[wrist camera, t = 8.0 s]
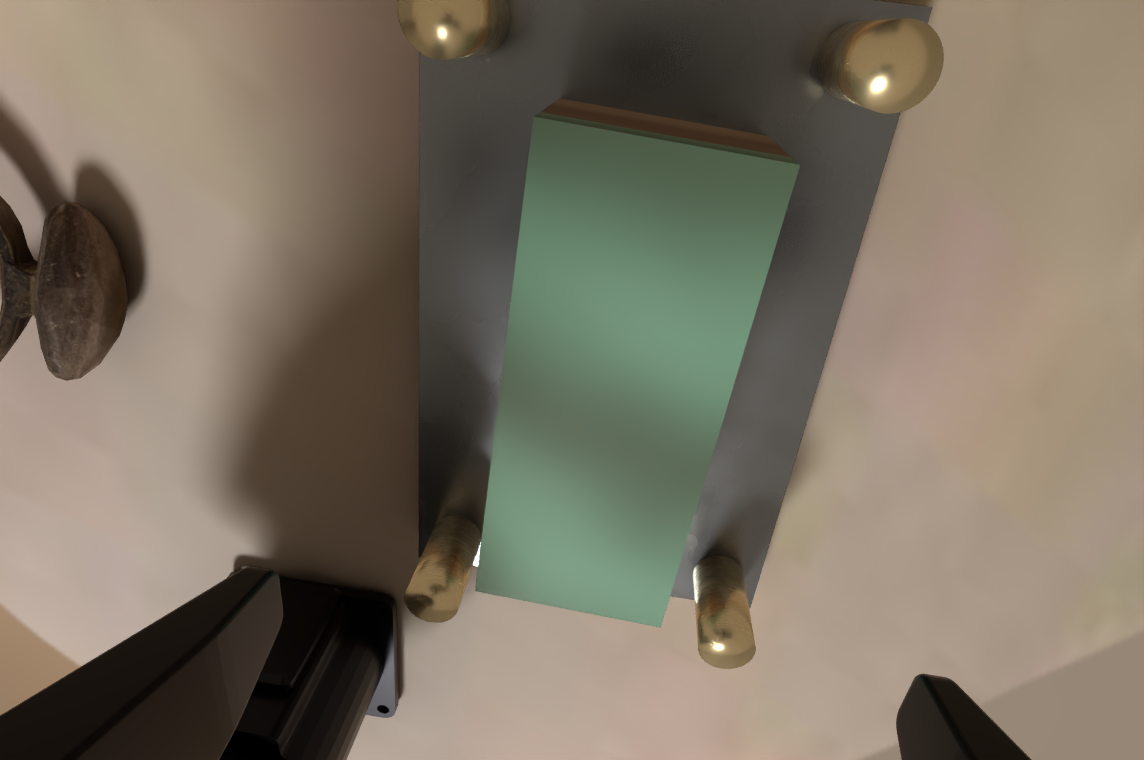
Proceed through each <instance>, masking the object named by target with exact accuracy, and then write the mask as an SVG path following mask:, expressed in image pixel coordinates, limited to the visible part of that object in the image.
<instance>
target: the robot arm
mask: <svg viewBox="0 0 1144 760" xmlns="http://www.w3.org/2000/svg"><path fill="white" fill-rule="evenodd" d="M380 606H382V607H380ZM383 607H384V608H383ZM397 706H398V654H397V605H396V601H395V600H394V598H393V597H391V596H390V595H388V594H385V593H380V592H374V591H368V590H361V589H355V588H349V587H342V586H336V585H330V584H323V583H317V582H311V581H304V580H298V579H292V578H285V577H279V576H278V574H277V572H276V571H274V570H271V569H265V568H259V567H252V566H251V567H246V568H243V569H242V570H235V571H233V572H231V573H230V575H229V576H228V577H227V579H225V580H223V581H222V582H220V583H218V584H217V585H215V586H213V587H212V588H210V589H208V590H207V591H205V592H203V593H202V594H200V595H199V596H197V597H195V598H194V599H192V600H190V601H189V602H187V603H185V604H184V605H182V606H180V607H179V608H177V609H175V610H174V611H172V612H170V613H169V614H167V615H165V616H164V617H162V618H161V619H159V620H157V621H156V622H154V623H152V624H151V625H149V626H147V627H146V628H144V629H142V630H141V631H139V632H137V633H136V634H134V635H132V636H131V637H129V638H128V639H126V640H124V641H123V642H121V643H119V644H118V645H116V646H114V647H113V648H111V649H109V650H108V651H106V652H104V653H103V654H101V655H99V656H98V657H96V658H94V659H93V660H91V661H90V662H88V663H86V664H85V665H83V666H81V667H80V668H78V669H76V670H75V671H73V672H72V673H70V674H68V675H66V676H65V677H63V678H61V679H60V680H58V681H57V682H55V683H53V684H52V685H50V686H48V687H47V688H45V689H43V690H42V691H40V692H38V693H37V694H35V695H34V696H32V697H30V698H29V699H27V700H25V701H23V702H22V703H20V704H19V705H17V706H15V707H14V708H12V709H10V710H9V711H7V712H5V713H4V714H2V715H0V760H346V759H347V757H348V755H349V752H350V750H351V748H352V745H353V743H354V740H355V738H356V736H357V733H358V731H359V729H360V726H361V724H362V722H363V719H364V717H365V715H371V716H377V717H383V718H389V717H392V716H393V715H394V714H395V711H396V709H397ZM896 728H897V735H898V741H899V747H900V753H901V758H902V760H1031V759H1030V758H1029V757H1028V756H1027V755H1026V754H1025V753H1024V752H1023V751H1022V750H1021V749H1020V748H1019V747H1018V746H1017V745H1016V744H1015V743H1014V742H1013V741H1012V740H1011V739H1010V738H1009V737H1008V736H1007V734H1006V733H1005V732H1004V731H1003V730H1002V729H1001V728H1000V727H998V725H997V724H996V723H995V722H994V721H993V720H991V718H990V717H989V716H988V715H987V714H986V713H985V712H984V711H983V710H982V709H981V708H980V707H979V706H978V705H977V704H976V703H975V702H974V701H973V700H972V699H971V698H970V697H969V696H968V695H967V694H966V693H965V692H964V691H963V690H962V689H961V688H960V687H959V686H958V685H957V684H956V683H955V682H954V681H952V680H951V679H949V678H946V677H941V676H934V675H928V674H919V675H918V676H916V677H915V678H914V680H913V682H912V684H911V686H910V688H909V690H908V692H907V694H906V696H905V698H904V700H903V702H902V704H901V706H900V708H899V711H898V714H897V720H896Z"/></svg>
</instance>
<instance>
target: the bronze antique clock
mask: <svg viewBox="0 0 1144 760" xmlns="http://www.w3.org/2000/svg"><path fill="white" fill-rule="evenodd" d="M0 264H1V270H2V305H1V310H0V362H1V360H2V359H3V358H4V356H5V355H6V354H7V352H8V351H9V350H10V348H11V347H12V346H13V344H14V343H15V342H16V340H17V339H18V338H19V336H20V335H21V333H22V332H23V330H24V328H25V327H26V325H27V324H28V322H29V320H30V318H31V317H32V315H34V317H35V318H36V322H37V328H38V334H39V339H40V345H41V349H42V352H43V355H44V358H45V361H46V364H47V367H48V370H49V371H50V372H51V373H52V374H53V375H54V376H55V377H57V378H60V379H63V380H66V381H67V380H73V379H78V378H81V377H83V376H84V375H85V374H87V373H88V372H90V371H91V370H92V369H94V368H95V367H96V366H98V365H99V364H100V363H101V362H102V360H103V359H104V357H105V356H106V354H107V353H108V351H109V350H110V349H111V347H112V346H113V344H114V343H115V341H116V340H117V338H118V337H119V336H120V333H121V330H122V327H123V324H124V321H125V315H126V310H127V304H128V297H127V289H126V281H125V278H124V274H123V270H122V266H121V262H120V258H119V254H118V250H117V248H116V246H115V244H114V242H113V241H112V239H111V237H110V235H109V233H108V231H107V229H106V227H105V226H104V225H103V224H102V223H101V221H100V220H99V219H98V218H97V217H96V216H95V215H94V213H93V212H91V211H89V210H88V209H86V208H84V207H83V206H81V205H79V204H78V203H70V202H65V203H63V204H61V205H59V206H58V207H56V208H54V209H52V210H50V212H49V214H48V215H47V217H46V219H45V221H44V227H43V233H42V240H41V246H40V253H39V259H38V262H37V261H35V260H34V259H33V257H32V255H31V252H30V250H29V248H28V246H27V243H26V239H25V236H24V232H23V229H22V226H21V224H20V222H19V220H18V219H17V217H16V215H15V214H14V212H13V210H12V209H11V207H10V206H9V205H8V204H7V202H6V201H5V200H4V199H3V198H2V197H1V196H0Z"/></svg>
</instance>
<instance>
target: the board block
mask: <svg viewBox="0 0 1144 760" xmlns="http://www.w3.org/2000/svg"><path fill="white" fill-rule="evenodd" d="M799 167H800V164H799V163H798V162H797V161H795V160H794V159H793V158H792V157H791V156H790V155H789V154H788V153H787V152H785V151H784V150H783V149H782V148H781V147H780V146H779V145H778V144H777V143H776V142H774V141H773V140H772V139H771V138H770V137H769V136H767V135H761V134H756V133H750V132H744V131H739V130H733V129H728V128H722V127H717V126H711V125H705V124H700V123H694V122H689V121H683V120H678V119H672V118H666V117H661V116H655V115H650V114H644V113H639V112H633V111H628V110H622V109H616V108H611V107H605V106H600V105H594V104H589V103H583V102H577V101H572V100H566V99H561V98H559V99H558V100H556V101H555V102H554V103H552V104H551V105H549V106H548V107H547V108H545V109H544V110H542V111H541V112H539V113H538V114H537V115H535V116H534V117H533V125H532V133H531V141H530V149H529V157H528V166H527V174H526V182H525V190H524V198H523V206H522V214H521V223H520V231H519V239H518V247H517V255H516V263H515V271H514V279H513V288H512V296H511V304H510V312H509V320H508V328H507V336H506V345H505V353H504V361H503V369H502V377H501V385H500V393H499V402H498V410H497V418H496V426H495V434H494V442H493V450H492V458H491V467H490V475H489V483H488V491H487V499H486V507H485V515H484V524H483V532H482V540H481V548H480V556H479V564H478V572H477V580H476V589H475V591H478V592H483V593H488V594H493V595H498V596H503V597H508V598H513V599H518V600H523V601H528V602H534V603H539V604H544V605H549V606H554V607H559V608H564V609H569V610H574V611H579V612H584V613H589V614H595V615H600V616H605V617H610V618H615V619H620V620H625V621H630V622H635V623H640V624H645V625H650V626H656V627H661V625H662V621H663V618H664V615H665V611H666V608H667V605H668V601H669V598H670V595H671V591H672V588H673V585H674V582H675V578H676V575H677V572H678V568H679V565H680V562H681V558H682V555H683V552H684V548H685V545H686V542H687V538H688V535H689V532H690V528H691V525H692V522H693V519H694V515H695V512H696V509H697V505H698V502H699V499H700V495H701V492H702V489H703V485H704V482H705V479H706V475H707V472H708V469H709V466H710V462H711V459H712V456H713V452H714V449H715V446H716V442H717V439H718V436H719V432H720V429H721V426H722V422H723V419H724V416H725V412H726V409H727V406H728V403H729V399H730V396H731V393H732V389H733V386H734V383H735V379H736V376H737V373H738V369H739V366H740V363H741V359H742V356H743V353H744V349H745V346H746V343H747V340H748V336H749V333H750V330H751V326H752V323H753V320H754V316H755V313H756V310H757V306H758V303H759V300H760V296H761V293H762V290H763V286H764V283H765V280H766V277H767V273H768V270H769V267H770V263H771V260H772V257H773V253H774V250H775V247H776V243H777V240H778V237H779V233H780V230H781V227H782V223H783V220H784V217H785V214H786V210H787V207H788V204H789V200H790V197H791V194H792V190H793V187H794V184H795V180H796V177H797V174H798V170H799Z"/></svg>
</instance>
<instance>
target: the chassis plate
mask: <svg viewBox="0 0 1144 760" xmlns="http://www.w3.org/2000/svg"><path fill="white" fill-rule="evenodd" d="M931 10H932V7H928V6H919V5H910V4H901V3H892V2H884V1H875V0H399V1H398V16H399V21H400V25H401V28H402V30H403V33H404V34H405V36H406V38H407V39H408V41H409V42H410V44H411V45H412V46H413V47H414V48H415V49H416V50H417V51H419V52H420V103H419V557H421V558H420V561H419V563H418V565H417V567H416V570H415V572H414V574H413V576H412V579H411V581H410V583H409V585H408V588H407V590H406V592H405V596H404V599H405V604H406V606H407V608H408V609H409V610H410V612H411V613H413V614H414V615H415V616H417V617H418V618H420V619H422V620H425V621H428V622H444V621H447V620H449V619H451V618H453V617H454V616H455V614H456V613H457V610H458V608H459V605H460V602H461V599H462V596H463V593H464V590H465V587H466V584H467V581H468V578H469V575H470V572H471V569H472V566H478V564H479V556H480V548H481V540H482V532H483V524H484V515H485V507H486V499H487V491H488V483H489V475H490V467H491V458H492V450H493V442H494V434H495V426H496V418H497V410H498V402H499V393H500V385H501V377H502V369H503V361H504V353H505V345H506V336H507V328H508V320H509V312H510V304H511V296H512V288H513V279H514V271H515V263H516V255H517V247H518V239H519V231H520V223H521V214H522V206H523V198H524V190H525V182H526V174H527V166H528V157H529V149H530V141H531V133H532V125H533V117H534V116H535V115H537V114H538V113H539V112H541V111H542V110H544V109H545V108H547V107H548V106H549V105H551V104H552V103H554V102H555V101H556V100H558V99H559V98H561V99H566V100H572V101H577V102H583V103H589V104H594V105H600V106H605V107H611V108H616V109H622V110H628V111H633V112H639V113H644V114H650V115H655V116H661V117H666V118H672V119H678V120H683V121H689V122H694V123H700V124H705V125H711V126H717V127H722V128H728V129H733V130H739V131H744V132H750V133H756V134H761V135H767V136H769V137H770V138H771V139H772V140H773V141H774V142H776V143H777V144H778V145H779V146H780V147H781V148H782V149H783V150H784V151H785V152H787V153H788V154H789V155H790V156H791V157H792V158H793V159H794V160H795V161H797V162H798V163H799V164H800V167H799V170H798V174H797V177H796V180H795V184H794V187H793V190H792V194H791V197H790V200H789V204H788V207H787V210H786V214H785V217H784V220H783V223H782V227H781V230H780V233H779V237H778V240H777V243H776V247H775V250H774V253H773V257H772V260H771V263H770V267H769V270H768V273H767V277H766V280H765V283H764V286H763V290H762V293H761V296H760V300H759V303H758V306H757V310H756V313H755V316H754V320H753V323H752V326H751V330H750V333H749V336H748V340H747V343H746V346H745V349H744V353H743V356H742V359H741V363H740V366H739V369H738V373H737V376H736V379H735V383H734V386H733V389H732V393H731V396H730V399H729V403H728V406H727V409H726V412H725V416H724V419H723V422H722V426H721V429H720V432H719V436H718V439H717V442H716V446H715V449H714V452H713V456H712V459H711V462H710V466H709V469H708V472H707V475H706V479H705V482H704V485H703V489H702V492H701V495H700V499H699V502H698V505H697V509H696V512H695V515H694V519H693V522H692V525H691V528H690V532H689V535H688V538H687V542H686V545H685V548H684V552H683V555H682V558H681V562H680V565H679V568H678V572H677V575H676V578H675V582H674V585H673V588H672V591H671V595H670V596H672V597H679V598H685V599H691V600H695V610H696V624H697V638H698V650H699V654H700V656H701V658H702V659H703V660H704V661H705V662H707V663H708V664H710V665H712V666H714V667H717V668H723V669H732V668H737V667H740V666H743V665H745V664H746V663H748V662H749V661H750V660H751V659H752V658H753V656H754V654H755V649H756V648H755V642H754V635H753V629H752V623H751V617H750V611H749V608H750V607H751V604H752V600H753V597H754V594H755V590H756V587H757V584H758V581H759V577H760V574H761V571H762V567H763V564H764V561H765V557H766V554H767V551H768V548H769V544H770V541H771V538H772V534H773V531H774V528H775V524H776V521H777V518H778V515H779V511H780V508H781V505H782V501H783V498H784V495H785V492H786V488H787V485H788V482H789V478H790V475H791V472H792V468H793V465H794V462H795V459H796V455H797V452H798V449H799V445H800V442H801V439H802V435H803V432H804V429H805V426H806V422H807V419H808V416H809V412H810V409H811V406H812V402H813V399H814V396H815V393H816V389H817V386H818V383H819V379H820V376H821V373H822V369H823V366H824V363H825V360H826V356H827V353H828V350H829V346H830V343H831V340H832V337H833V333H834V330H835V327H836V323H837V320H838V317H839V313H840V310H841V307H842V304H843V300H844V297H845V294H846V290H847V287H848V284H849V280H850V277H851V274H852V271H853V267H854V264H855V261H856V257H857V254H858V251H859V247H860V244H861V241H862V238H863V234H864V231H865V228H866V224H867V221H868V218H869V214H870V211H871V208H872V205H873V201H874V198H875V195H876V191H877V188H878V185H879V181H880V178H881V175H882V172H883V168H884V165H885V162H886V158H887V155H888V152H889V149H890V145H891V142H892V139H893V135H894V132H895V129H896V125H897V122H898V119H899V116H900V112H902V111H905V110H908V109H910V108H912V107H914V106H915V105H917V104H918V103H920V102H921V101H922V100H923V99H924V98H925V97H926V96H927V95H928V94H929V93H930V92H931V91H932V89H933V88H934V86H935V85H936V83H937V81H938V79H939V77H940V74H941V71H942V67H943V60H944V53H943V47H942V43H941V41H940V38H939V36H938V35H937V33H936V32H935V31H934V30H933V28H931V27H930V26H929V25H928V24H927V23H928V20H929V17H930V13H931Z"/></svg>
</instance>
